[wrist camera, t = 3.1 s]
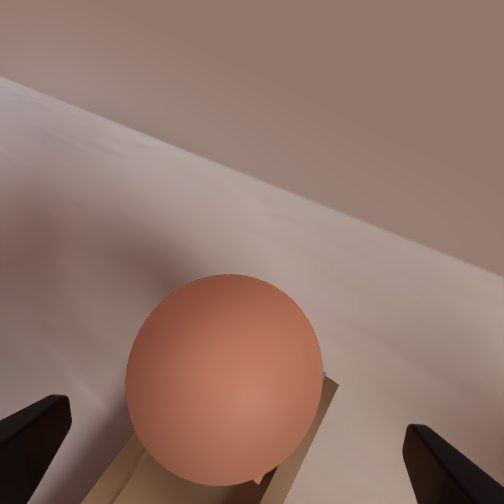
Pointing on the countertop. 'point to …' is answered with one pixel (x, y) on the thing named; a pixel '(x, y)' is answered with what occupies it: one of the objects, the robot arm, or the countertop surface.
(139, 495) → the track
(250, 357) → the slider knob
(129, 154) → the countertop surface
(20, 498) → the robot arm
